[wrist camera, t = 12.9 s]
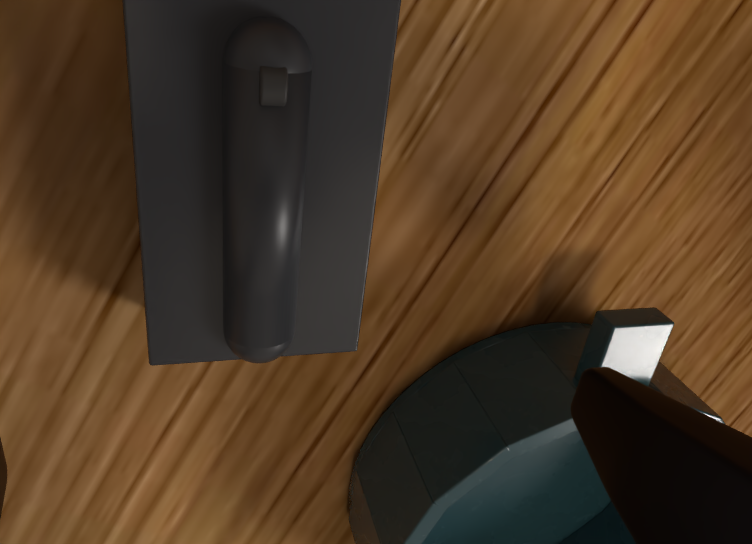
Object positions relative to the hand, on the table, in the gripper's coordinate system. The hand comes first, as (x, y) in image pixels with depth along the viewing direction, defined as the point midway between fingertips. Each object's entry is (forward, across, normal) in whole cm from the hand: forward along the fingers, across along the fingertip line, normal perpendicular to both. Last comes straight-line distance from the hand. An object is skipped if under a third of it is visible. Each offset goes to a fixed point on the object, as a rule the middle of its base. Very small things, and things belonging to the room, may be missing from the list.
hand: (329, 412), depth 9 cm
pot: (+10, -12, +14) cm, 21 cm away
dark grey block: (+10, 0, 0) cm, 10 cm away
